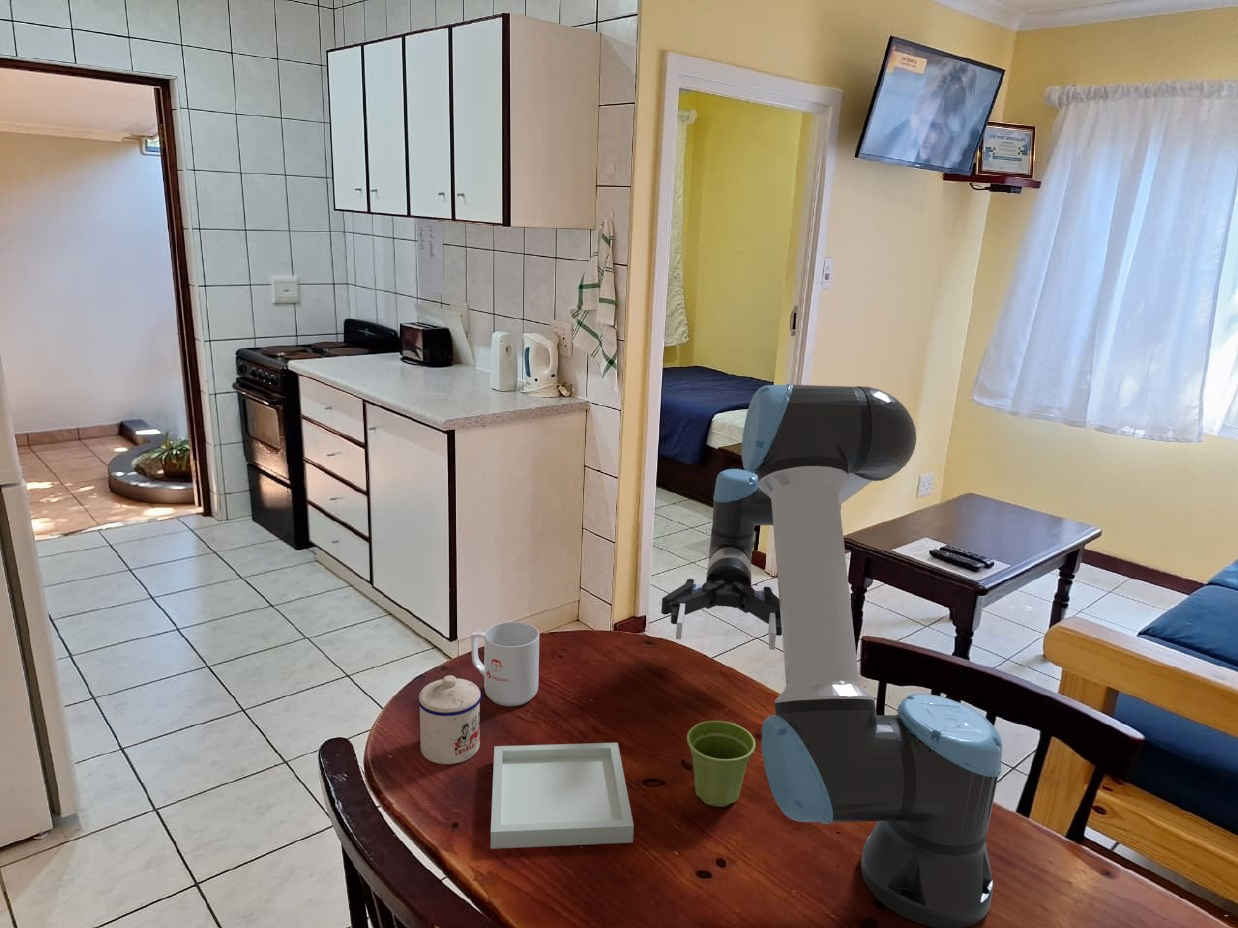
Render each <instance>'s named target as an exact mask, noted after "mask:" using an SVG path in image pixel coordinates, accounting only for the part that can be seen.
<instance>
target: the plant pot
mask: <svg viewBox="0 0 1238 928" xmlns="http://www.w3.org/2000/svg"><path fill="white" fill-rule="evenodd" d="M686 741H687V745H688V746H689V749H690V753H691V755H692V756H691V757H692V767H693V777H694V789H695V791H694V793H695V795H696V796H697V797H698V798H699V799H700V800H701V801H702V802H703V803H704V804H706V805H708V806H713V807H719V808H720V807H721V808H722V807H727V806H728V805H730V804H732V803H734V804H735V803H736V802H737V801H738V800H739V797H740V793H741V788H742V785H743V781H744V776H745V772H746V769H747V765H748V762H749V761H750V758H751V755H753V753H754V752H755V750H756V749H755V748H756V739H755V738H754V736H753V735H752V733H751V732H750V731H749V730H748V729H746V728H744V727H743V726H740V725H738V724H736V723H733V722H729V721H723V720H709V721H708V720H707V721H703V722H699V723H696V724H695V725H693V726H692V727H691V728H690V729H689V730H688V731H687V735H686Z"/></svg>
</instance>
